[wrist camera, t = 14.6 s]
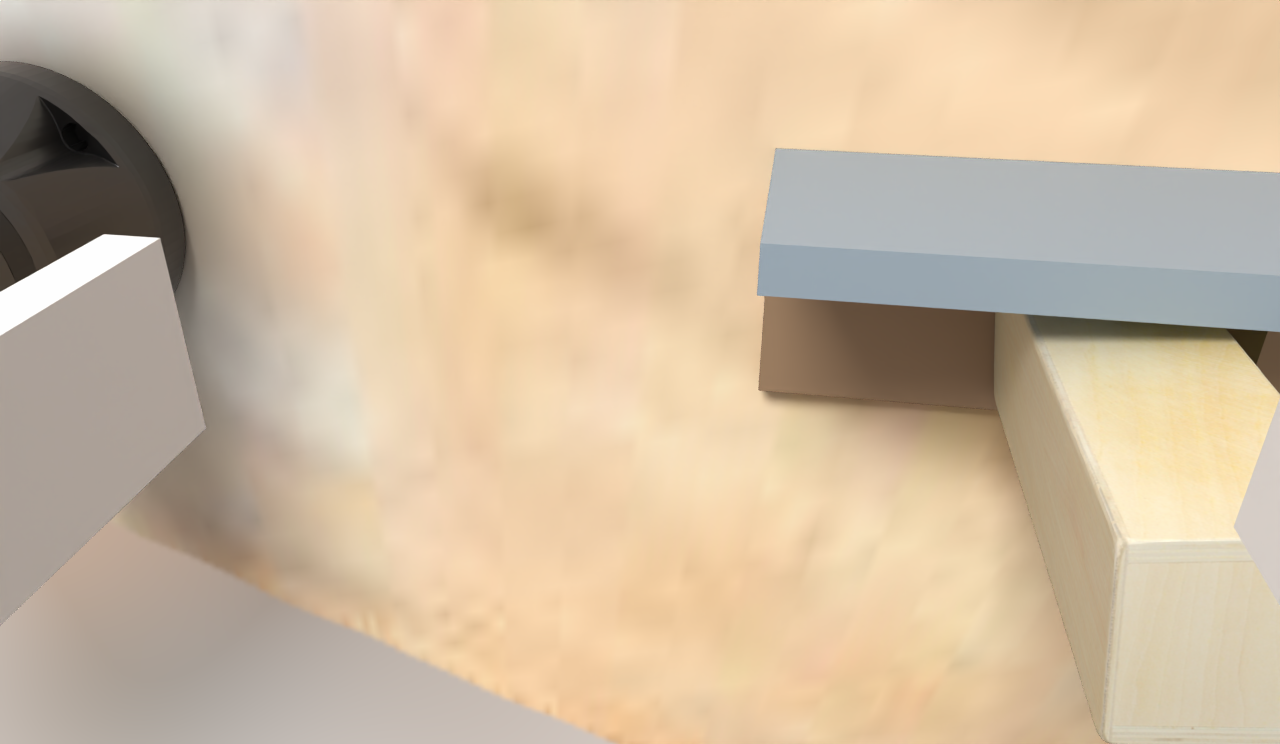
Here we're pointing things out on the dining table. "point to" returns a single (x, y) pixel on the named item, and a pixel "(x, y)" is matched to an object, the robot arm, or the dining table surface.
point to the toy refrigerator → (1147, 518)
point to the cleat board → (997, 264)
